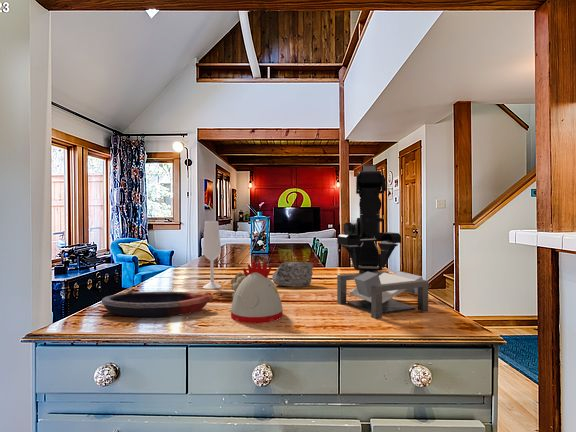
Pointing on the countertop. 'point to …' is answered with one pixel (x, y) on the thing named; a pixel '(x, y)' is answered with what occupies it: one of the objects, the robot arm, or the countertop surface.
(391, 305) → the frame
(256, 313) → the kitchen timer
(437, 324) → the countertop surface
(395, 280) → the trapdoor
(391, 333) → the countertop surface
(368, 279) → the grey matte cube
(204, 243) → the champagne flute
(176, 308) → the dish
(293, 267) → the rock
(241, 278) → the mineral formation
